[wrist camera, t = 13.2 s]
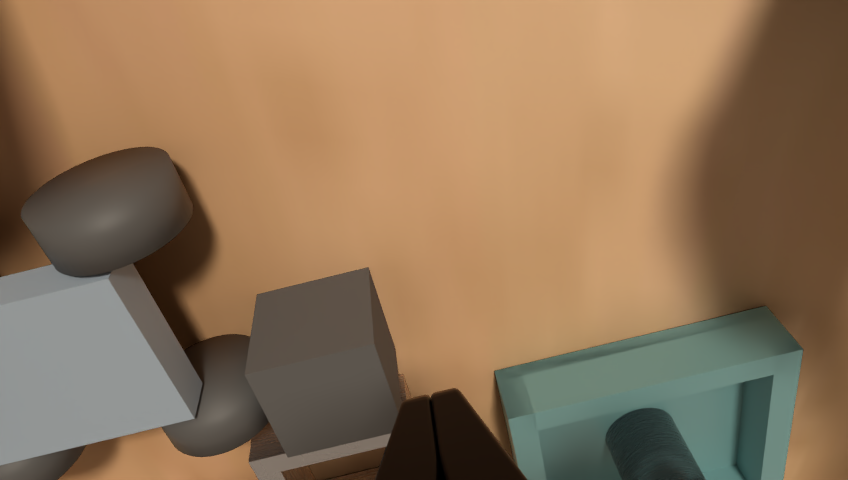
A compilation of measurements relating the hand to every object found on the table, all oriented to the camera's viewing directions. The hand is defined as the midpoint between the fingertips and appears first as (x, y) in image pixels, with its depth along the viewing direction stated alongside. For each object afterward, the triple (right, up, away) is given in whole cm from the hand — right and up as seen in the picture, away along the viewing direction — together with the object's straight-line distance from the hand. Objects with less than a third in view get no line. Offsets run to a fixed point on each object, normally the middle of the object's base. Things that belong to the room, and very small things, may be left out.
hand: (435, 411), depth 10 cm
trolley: (-11, +1, +12) cm, 17 cm away
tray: (+9, -5, +19) cm, 22 cm away
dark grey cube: (-4, 0, +14) cm, 15 cm away
